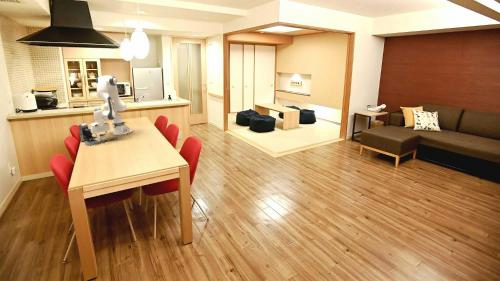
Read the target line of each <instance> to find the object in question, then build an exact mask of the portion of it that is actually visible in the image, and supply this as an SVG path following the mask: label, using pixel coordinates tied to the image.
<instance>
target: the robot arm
mask: <svg viewBox="0 0 500 281" xmlns="http://www.w3.org/2000/svg"><path fill="white" fill-rule="evenodd" d="M95 83H96V84H97V85H96V96H97V98H98V99H100V100H102V101H103V102H105V103H104V105H103V109H102V108H95V109H93V119H94V122H93V123H91V124H90V129H91V133H92V135H93V134H94V135H95V137H98V138H100V136H99V134H98V133H103V132H104V133H103V134H104V135H105V136H107V135H108V134H107V133H108V132H109V131H110V130H111V127H110V123H109V122H105V120H109V121H112V127H113V131H112V135H114V136H115V135H116V136H118V135H119V136H120V135H127V134H130V133H132V132H133V130H131V129H130V126H129V125H126V123H127V122H126V121H124V120H123V116H122V115H121V114H120V113H119V112H124V111H126V109H127V108H128V107H127V104H126V103H125V101H123V100H122V99H121V98H120V96H119V90H118V87H117V83H118V80H117V77H115V76H113V75H99V76H97V77H96V78H95Z"/></svg>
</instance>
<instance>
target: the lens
mask: <svg viewBox="0 0 500 281" xmlns="http://www.w3.org/2000/svg"><path fill="white" fill-rule="evenodd" d="M98 136H99V141H100V143H105V142H106V137H105V136H106V135H105V134H104V133H100V134H98Z"/></svg>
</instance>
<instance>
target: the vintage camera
mask: <svg viewBox="0 0 500 281" xmlns="http://www.w3.org/2000/svg"><path fill="white" fill-rule="evenodd" d="M78 130H79V132H78V133H79V137H80V141H81V142H82V141H83V142H85V141H87V140H88V139H89V140H91V139H95V140H96V139H98V138H99V137H96V136H93V134H92V133H91V128H89V125H88V123H87V122H84V123H82V124H81V123H80V124H79V125H78Z"/></svg>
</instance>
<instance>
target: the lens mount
mask: <svg viewBox="0 0 500 281" xmlns="http://www.w3.org/2000/svg"><path fill="white" fill-rule="evenodd" d="M98 140H99V139H96V138H95V139H89V140H86V141H84V145H85V144H87V145H86V146H89V145H90V147H91V146H95V145H98V144H99V141H98ZM94 144H95V145H94Z"/></svg>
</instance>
